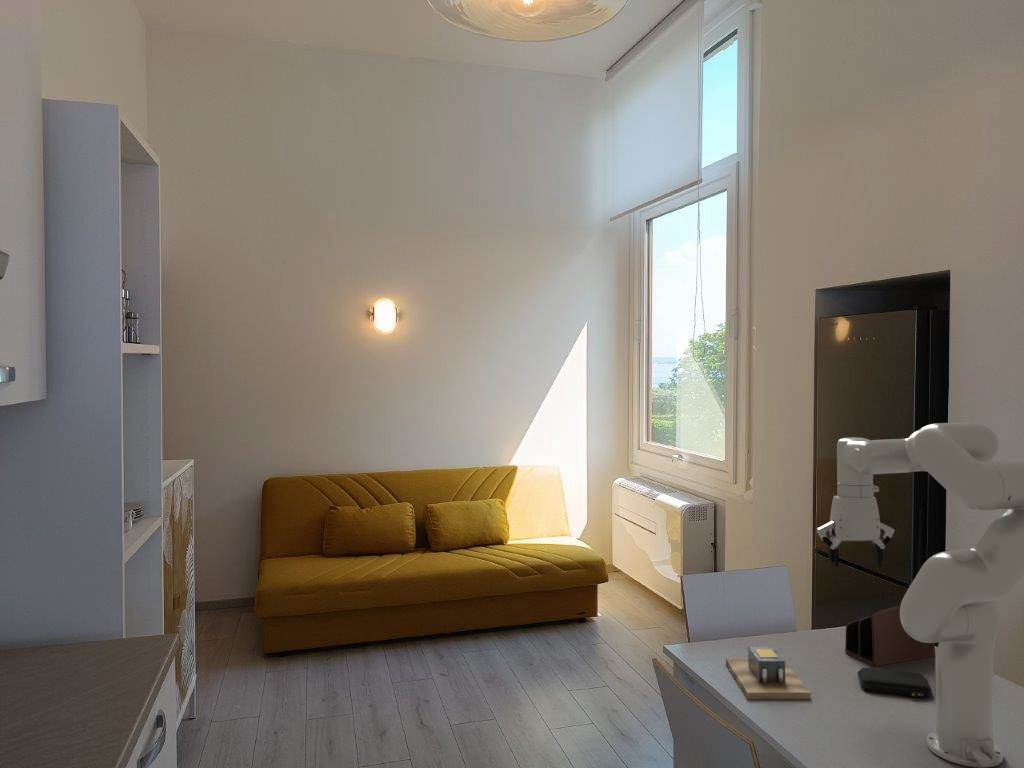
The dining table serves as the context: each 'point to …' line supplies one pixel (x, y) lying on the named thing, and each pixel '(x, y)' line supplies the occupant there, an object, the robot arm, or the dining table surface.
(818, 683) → the dining table surface
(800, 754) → the dining table surface
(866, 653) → the letter holder
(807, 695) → the tray
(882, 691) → the carrying case or bag
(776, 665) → the block
